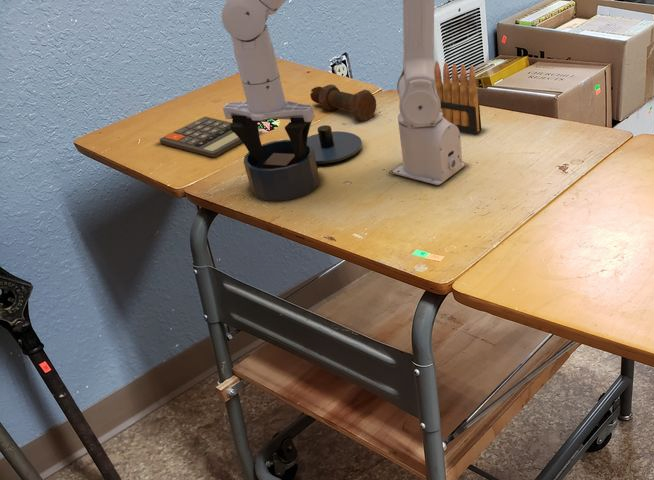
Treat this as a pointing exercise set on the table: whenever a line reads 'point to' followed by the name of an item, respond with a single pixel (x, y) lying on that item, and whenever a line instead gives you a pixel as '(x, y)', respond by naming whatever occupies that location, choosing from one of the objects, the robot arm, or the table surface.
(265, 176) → the pot
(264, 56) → the robot arm
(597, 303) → the table surface
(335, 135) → the lid
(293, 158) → the block
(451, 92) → the ammunition clip
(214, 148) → the calculator
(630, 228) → the table surface
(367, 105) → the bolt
